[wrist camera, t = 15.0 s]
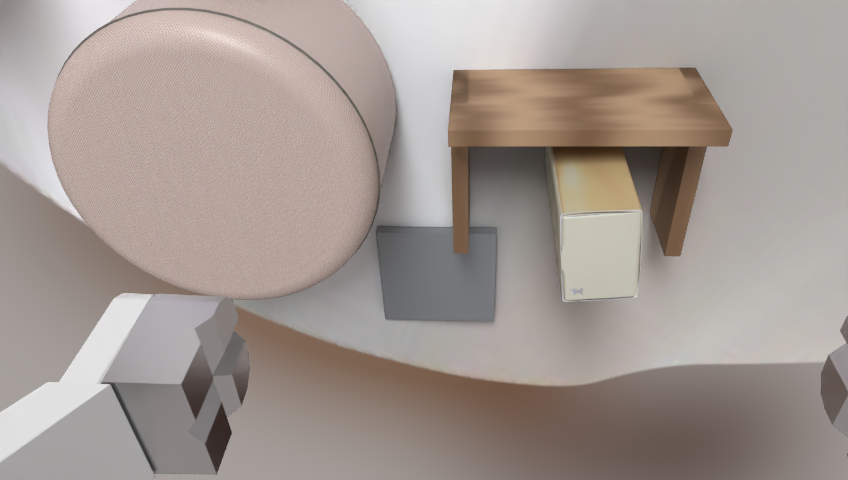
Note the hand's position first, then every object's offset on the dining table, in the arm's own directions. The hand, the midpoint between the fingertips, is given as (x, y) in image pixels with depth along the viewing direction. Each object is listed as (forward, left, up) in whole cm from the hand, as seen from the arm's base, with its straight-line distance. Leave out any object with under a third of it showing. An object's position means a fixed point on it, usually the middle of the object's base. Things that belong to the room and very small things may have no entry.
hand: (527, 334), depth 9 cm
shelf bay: (-5, +16, -34) cm, 38 cm away
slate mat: (+4, +28, -34) cm, 44 cm away
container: (+15, +12, -34) cm, 40 cm away
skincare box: (-6, +17, -34) cm, 39 cm away
